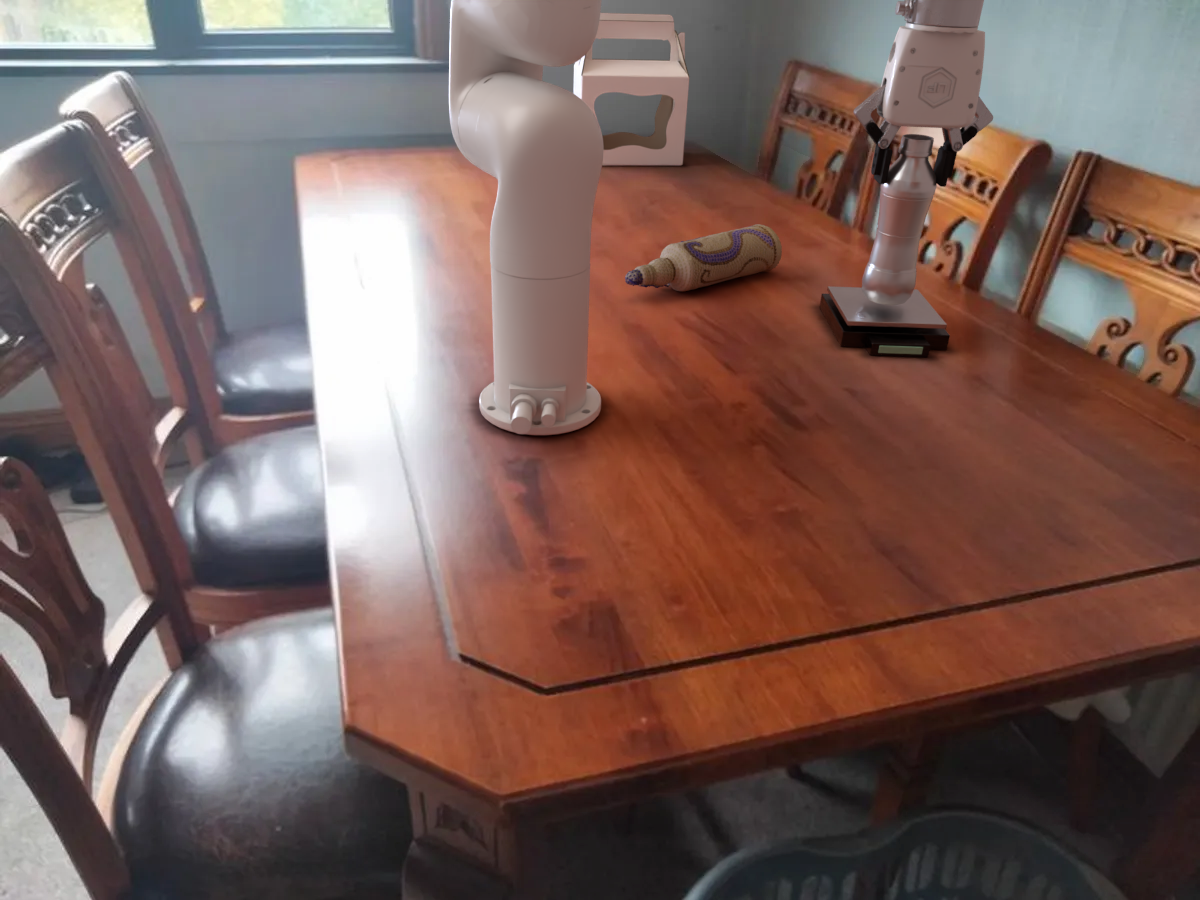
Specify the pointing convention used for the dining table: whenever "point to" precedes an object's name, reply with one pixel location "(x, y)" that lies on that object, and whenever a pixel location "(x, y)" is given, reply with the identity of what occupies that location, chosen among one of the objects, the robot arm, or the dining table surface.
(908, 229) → the plastic bottle
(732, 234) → the decorative bottle
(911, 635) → the dining table surface
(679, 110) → the gable box
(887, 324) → the scale
